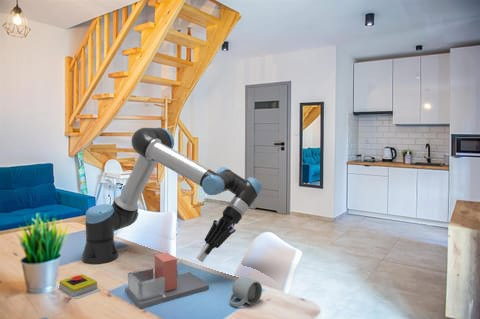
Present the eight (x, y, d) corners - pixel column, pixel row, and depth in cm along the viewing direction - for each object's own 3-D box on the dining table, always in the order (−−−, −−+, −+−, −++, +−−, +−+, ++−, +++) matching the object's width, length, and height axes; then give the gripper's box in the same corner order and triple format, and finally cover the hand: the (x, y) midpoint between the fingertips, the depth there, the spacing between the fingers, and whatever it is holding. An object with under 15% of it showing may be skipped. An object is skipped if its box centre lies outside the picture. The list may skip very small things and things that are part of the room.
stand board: (125, 291, 129) (124, 287, 129) (189, 275, 144) (189, 271, 144) (140, 308, 117) (140, 303, 116) (208, 289, 132) (208, 284, 132)
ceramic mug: (245, 292, 129) (245, 272, 129) (262, 300, 124) (262, 279, 123) (223, 303, 122) (223, 281, 121) (241, 311, 116) (240, 289, 115)
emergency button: (80, 269, 139) (101, 280, 129) (81, 280, 139) (101, 291, 130) (56, 276, 132) (76, 288, 122) (56, 288, 132) (76, 301, 122)
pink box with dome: (154, 283, 131) (154, 255, 131) (169, 280, 135) (169, 252, 134) (163, 291, 125) (163, 261, 124) (179, 287, 129) (179, 258, 128)
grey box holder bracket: (128, 289, 127) (127, 272, 127) (152, 283, 133) (152, 267, 132) (139, 301, 118) (139, 284, 118) (164, 294, 124) (164, 277, 123)
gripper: (250, 219, 141) (214, 270, 133) (231, 213, 152) (196, 260, 143) (239, 208, 138) (201, 259, 129) (220, 202, 148) (184, 249, 140)
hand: (199, 259), depth 136 cm, fingers closed
